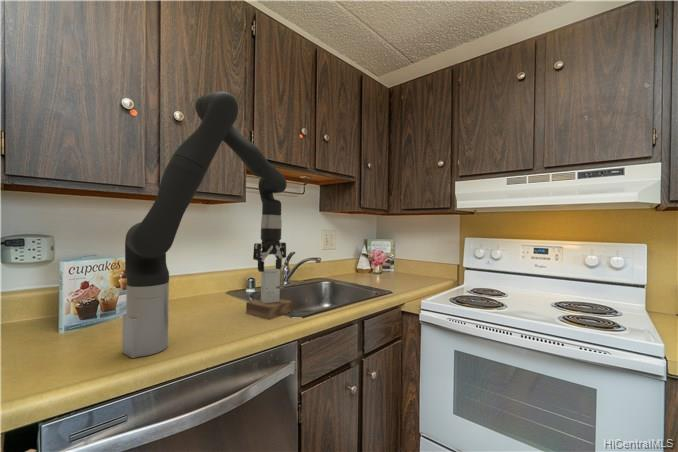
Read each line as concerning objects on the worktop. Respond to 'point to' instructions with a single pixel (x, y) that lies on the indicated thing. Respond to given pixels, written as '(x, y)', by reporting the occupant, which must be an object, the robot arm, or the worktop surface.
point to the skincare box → (270, 285)
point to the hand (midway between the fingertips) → (270, 270)
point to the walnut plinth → (269, 308)
